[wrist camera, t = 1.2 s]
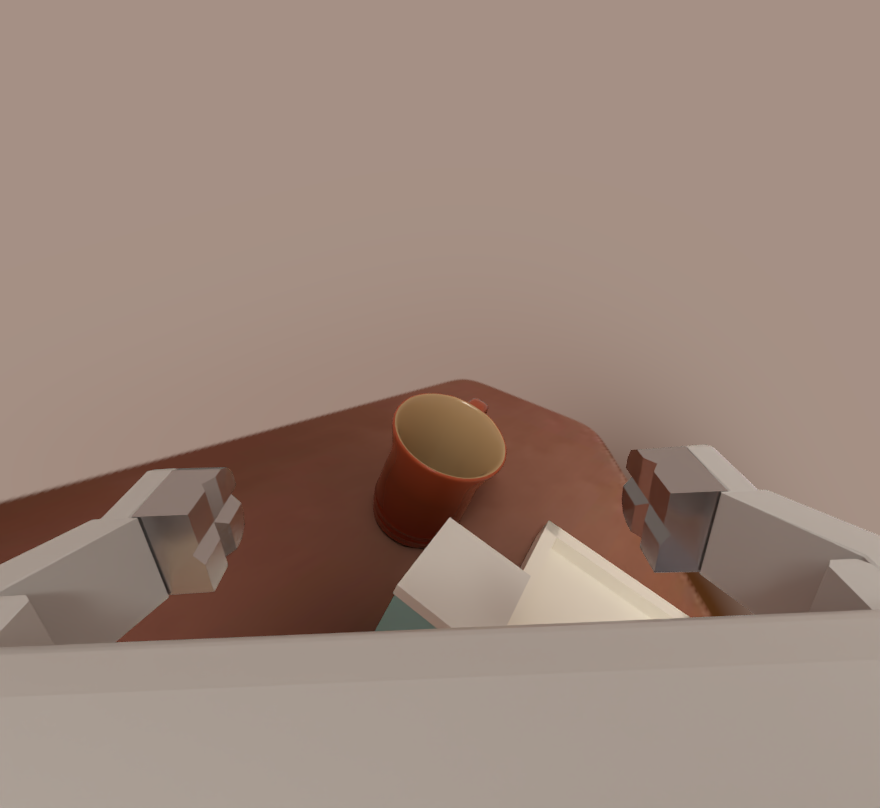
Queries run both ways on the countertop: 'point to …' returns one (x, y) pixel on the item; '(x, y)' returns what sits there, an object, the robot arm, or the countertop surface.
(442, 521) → the mug
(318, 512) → the countertop surface
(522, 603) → the tray
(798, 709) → the robot arm
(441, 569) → the tea tin
